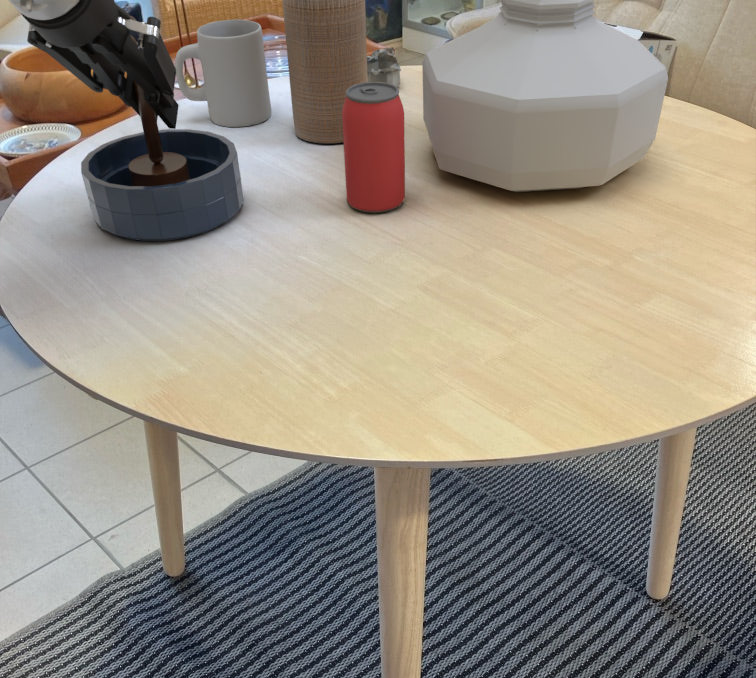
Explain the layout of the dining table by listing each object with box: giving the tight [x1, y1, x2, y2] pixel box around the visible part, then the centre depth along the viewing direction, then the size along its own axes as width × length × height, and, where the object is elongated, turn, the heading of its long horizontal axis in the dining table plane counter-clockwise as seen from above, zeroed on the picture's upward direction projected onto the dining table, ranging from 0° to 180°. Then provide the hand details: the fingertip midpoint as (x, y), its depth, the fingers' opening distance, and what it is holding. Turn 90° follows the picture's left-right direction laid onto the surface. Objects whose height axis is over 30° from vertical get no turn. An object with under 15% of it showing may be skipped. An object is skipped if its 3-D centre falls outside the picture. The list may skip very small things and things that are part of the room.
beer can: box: [342, 82, 406, 214], centre depth 93 cm, size 7×7×12 cm
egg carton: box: [367, 46, 402, 88], centre depth 125 cm, size 11×8×4 cm
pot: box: [422, 0, 669, 193], centre depth 98 cm, size 28×28×19 cm
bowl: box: [80, 128, 245, 242], centre depth 95 cm, size 17×17×6 cm
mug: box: [174, 19, 272, 128], centre depth 114 cm, size 12×8×11 cm
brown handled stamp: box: [128, 15, 190, 186], centre depth 91 cm, size 6×6×17 cm
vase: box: [281, 0, 368, 145], centre depth 104 cm, size 10×10×28 cm
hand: (164, 116), depth 95 cm, fingers closed on brown handled stamp, 2 cm apart
